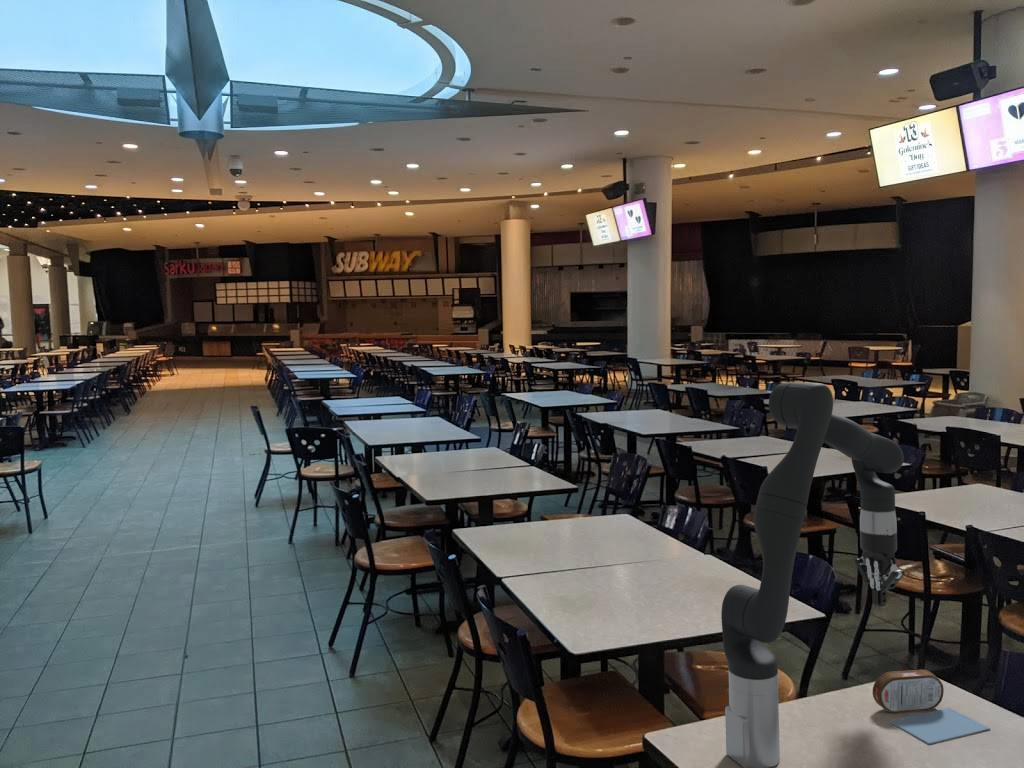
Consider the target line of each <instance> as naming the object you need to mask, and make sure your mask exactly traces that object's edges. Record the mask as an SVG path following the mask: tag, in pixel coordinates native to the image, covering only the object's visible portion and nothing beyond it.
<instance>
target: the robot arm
mask: <svg viewBox="0 0 1024 768" xmlns="http://www.w3.org/2000/svg"><path fill="white" fill-rule="evenodd" d="M833 397H834V396H833V393H832V391H831V389H830V387H829V386H828V385H826V384H824V383H819V382H805V381H804V382H801V381H798V382H797V381H789V382H782V383H779V384H777V385H776V386H775V387H774V388H773V389H772V391H771V392H770V394H769V398H768V409H769V413H770V415H771V417H772V418H773V420H774V421H775V422H776V423H778V424H779V425H781V426H784V427H787V428H791V429H795V430H796V433H795V436H794V439H793V442H792V444H791V446H790V448H789V450H788V452H787V453H786V454H785V456H784V457H783V458H782V459H781V460H780V462H778V464H777V465H776V466H775V467H774V468H772V470H771V471H770V472H769V473H768V475H767V476H766V477H765V478H764V480H763V481H762V482H761V485H760V488H759V491H758V494H757V495H758V496H757V499H756V503H755V508H754V513H753V524H754V525H753V526H754V531H755V535H756V538H757V542H758V545H759V548H760V552H761V559H762V573H761V579H760V586H759V589H758V588H756V587H752V586H749V585H744V584H736V585H734V586H732V587H730V588H729V589H728V590H727V592H726V593H725V594H724V595H725V596H724V598H723V600H722V605H721V632H722V642H723V643H722V644H723V653H724V656H725V658H726V660H727V668H728V699H729V700H728V702H729V703H728V704H729V705H727V706H725V708H724V712H725V713H724V717H725V719H724V720H725V749H726V751H725V753H726V755H727V756H728V757H729V758H731V759H732V760H733V761H735V763H737V764H738V765H739V766H740V767H742V768H773V767H775V766H777V765H779V763H780V761H781V749H780V748H781V747H780V745H781V744H780V743H781V742H780V711H779V706H780V705H779V704H780V703H779V671H778V670H779V669H778V668H779V665H778V659H777V656H776V655H775V654H774V653H773V652H772V651H771V650H770V649H769V648H768V647H767V646H766V645H765V644H770V643H774V642H775V641H776V640H778V638H779V637H780V635H781V634H782V632H783V630H784V627H785V625H786V620H787V616H788V610H789V605H790V604H789V603H790V596H791V594H790V593H791V586H792V577H793V570H794V565H795V558H796V554H797V549H798V544H799V541H800V537H801V532H802V527H803V524H804V520H805V515H806V513H807V512H806V511H807V507H808V503H809V498H810V497H809V496H810V491H811V487H812V482H813V479H814V475H815V470H816V466H817V463H818V459H819V457H820V456H819V455H820V453H821V450H822V446H823V444H824V443H825V444H826V445H829V446H830V447H832V448H834V450H836V451H838V452H839V453H841V454H843V455H844V456H846V457H848V458H850V459H851V464H852V468H853V470H854V474H855V477H856V480H857V483H858V487H859V491H860V514H859V534H860V535H859V542H860V543H859V546H860V549H861V550H862V552H861V554H862V555H861V556H860V557H859V558H854V563H855V565H856V567H857V569H858V571H859V573H860V575H861V577H862V580H863V582H864V583H865V584H866V585H867V584H868V585H869V586H870V588H871V593H872V594H871V597H872V598H871V599H872V604H873V605H874V606H877V607H878V608H880V607H885V606H886V605H887V601H888V599H887V598H888V596H887V595H888V594H887V591H888V590H892V589H893V590H894V589H895V588H896V586H897V585H898V584H899V583H900V581H901V579H903V577H904V576H905V570H904V569H899V567H898V566H897V561H896V558H895V553H896V552H897V550H898V526H897V525H898V523H897V514H896V491H895V490H896V489H895V487H894V485H892V484H890V483H888V482H886V481H883V480H882V479H880V477H878V475H877V474H876V473H882V474H892V473H896V472H897V471H899V470H900V469H901V468H902V467H903V464H904V460H905V458H904V457H905V455H904V452H903V450H902V448H901V447H900V445H899V444H898V443H896V442H895V441H894V440H892V439H890V438H887V437H884V436H882V435H879V434H876V433H873V432H870V431H868V430H867V429H866V428H865V427H863V426H862V425H861V424H858V423H857V422H855V421H854V420H852V419H849V418H847V417H844V416H841V415H839V414H836V413H833V410H834V398H833ZM764 643H765V644H764Z"/></svg>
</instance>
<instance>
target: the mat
mask: <svg viewBox="0 0 1024 768" xmlns="http://www.w3.org/2000/svg"><path fill="white" fill-rule="evenodd" d="M889 723H890V724H892V725H893V726H895V727H897V728H899V729H901V730H902V731H904V732H905V733H908V734H910V735H911V736H913V737H915V738H917V739H919V741H920V740H921V741H922V742H924V743H925V744H927V745H930V746H931V745H933V744H937V743H941V742H946V741H949V740H950V741H951V740H954V739H957V738H958V739H959V738H962V737H965V736H969V735H974V734H978V733H982V732H986V731H990V730H991V727H988V726H987V725H985V724H983V723H981V722H979V721H977V720H974V719H973V718H970V717H969V716H966V715H965V714H964V713H961V712H959V711H957V710H955V709H953V708H951V707H947V708H946V707H945V708H941V709H938V710H934V711H929V712H926V713H920V714H916V715H912V716H908V717H903V718H899V719H895V720H890V721H889Z"/></svg>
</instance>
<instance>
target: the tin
mask: <svg viewBox="0 0 1024 768" xmlns="http://www.w3.org/2000/svg"><path fill="white" fill-rule="evenodd" d="M944 693H945V692H944V685H943V683H942V681H941V680H940V678H938V677H937V676H936V675H935V674H934V673H933V672H931V671H929V670H928V669H927V670H926V669H913V670H897V671H887V672H884V673H882V674H881V675H880V676H878V677H877V679H876V680H875V682H874V683H873V686H872V697H873V700H874V701H875V703H876V704H877V705H878V706H880V707H881V708H882V709H884V710H885V711H886V712H888V713H893V714H894V713H895V714H896V713H911V712H926V711H931V710H933V709H935V708H937V707H938V706H939V705H940V704H941V702H942V700H943V697H944Z"/></svg>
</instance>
